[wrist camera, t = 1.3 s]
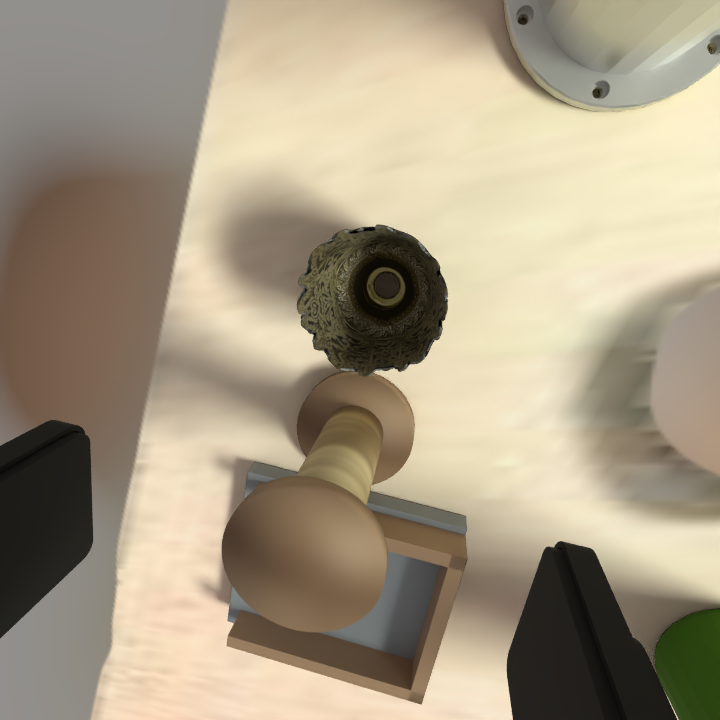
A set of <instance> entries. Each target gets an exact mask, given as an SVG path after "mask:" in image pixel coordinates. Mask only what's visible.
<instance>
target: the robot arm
mask: <svg viewBox="0 0 720 720" xmlns="http://www.w3.org/2000/svg"><path fill="white" fill-rule="evenodd" d="M503 1H504V11H505V21H506V26H507V29H508V33H509V36H510V39H511V43H512V46H513V48H514V50H515V52H516V54H517V56H518V58H519V60H520V62H521V64H522V65H523V67H524V68H525V69H526V71H527V72H528V73H529V74H530V76H531V77H532V78H533V79H534V80H535V82H536V83H537V84H538V85H540V86H541V87H542V88H543V89H545V90H546V91H547V92H549V93H550V94H551V95H552V96H554V97H555V98H557V99H560V100H562V101H564V102H566V103H568V104H570V105H572V106H575V107H579V108H584V109H588V110H592V111H607V112H620V111H626V110H632V109H637V108H643V107H646V106H649V105H651V104H654V103H657V102H659V101H662V100H665V99H668V98H669V97H671V96H673V95H675V94H677V93H678V92H680V91H682V90H684V89H686V88H688V87H689V86H691V85H692V84H694V83H695V82H697V81H698V80H700V79H701V78H702V77H704V76H705V75H707V74H708V73H710V72H711V71H712V70H713V69H714V68H716V67H717V66H718V65H719V64H720V0H503ZM521 17H524V18H526V20H527V24H525V25H521V24H519V23H518V19H519V18H521ZM708 46H710V47H711V48H712V53H711V54H710V53H709V51H708V49H707V47H708ZM594 89H597V90H599V92H600V96H599V98H595V97H594V96H593V94H592V91H593V90H594ZM90 455H91V454H90V439H89V437H88V436H87V435H85V431H84V430H83V428H82V427H80V426H78V425H74V424H69V423H65V422H61V421H57V420H50V421H47V422H45V423H43V424H42V425H39V426H38V427H36V428H34V429H32V430H30V431H28V432H26V433H24V434H22V435H20V436H19V437H16V438H15V439H13V440H11V441H9V442H7V443H5V444H3V445H1V446H0V638H1V637H2V636H3V635H4V634H5V633H6V632H7V631H9V630H10V629H11V628H12V627H13V626H14V625H15V624H16V623H17V622H18V621H19V620H20V619H21V618H22V617H23V616H24V615H25V614H26V613H27V612H29V611H30V610H31V609H32V607H34V606H35V605H36V604H37V603H38V602H39V601H40V600H41V599H42V598H43V597H44V596H45V595H46V594H47V593H49V592H50V591H51V590H52V588H54V587H55V586H56V585H57V584H58V583H59V582H60V581H61V580H62V579H63V578H64V577H65V576H66V575H67V574H68V573H69V572H70V571H72V570H73V569H74V568H75V567H76V566H77V565H78V564H79V563H80V562H81V561H82V560H83V559H84V558H85V557H86V556H87V554H88V553H89V551H90V549H91V547H92V543H93V523H92V522H93V521H92V520H93V519H92V487H91V457H90ZM507 678H508V686H509V693H510V700H511V708H512V715H513V720H677V718H676V716H675V714H674V711H673V709H672V707H671V705H670V703H669V701H668V698H667V696H666V694H665V692H664V690H663V687H662V685H661V683H660V681H659V679H658V677H657V674H656V672H655V670H654V668H653V666H652V663H651V661H650V659H649V657H648V655H647V653H646V651H645V649H644V648H643V646H642V644H641V643H640V642H639V641H637V640H636V639H635V638H633V637H632V635H631V633H630V630H629V628H628V626H627V624H626V621H625V619H624V617H623V615H622V612H621V610H620V608H619V605H618V603H617V601H616V599H615V596H614V594H613V592H612V590H611V587H610V585H609V583H608V581H607V578H606V576H605V574H604V572H603V569H602V567H601V565H600V563H599V560H598V558H597V556H596V554H595V552H594V550H592V549H591V548H587V547H583V546H579V545H575V544H570V543H566V542H562V541H560V542H558V543H557V544H556V545H555V547H554V548H553V547H546V548H545V550H544V552H543V554H542V557H541V560H540V563H539V566H538V569H537V572H536V575H535V578H534V580H533V583H532V586H531V589H530V592H529V595H528V598H527V601H526V604H525V606H524V609H523V612H522V615H521V618H520V621H519V624H518V627H517V629H516V632H515V635H514V638H513V641H512V644H511V647H510V650H509V653H508V658H507Z"/></svg>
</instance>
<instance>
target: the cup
mask: <svg viewBox="0 0 720 720" xmlns="http://www.w3.org/2000/svg"><path fill="white" fill-rule="evenodd" d="M382 273H391V274H393V275H395V276H396V277H397V279H398V281H399V290H398V292H397V294H396V295H395V296H393V297H391V298H383V297H381V296H379V295H378V294H377V293H376V291H375V288H374V283H375V280H376V278H377V277H378V276H379V275H380V274H382ZM298 284H299V285H300V286H301V287H302V288H304V291H303V292H302V293H301V295H300V296H299V298H298V301H297V310H298V312H299V314H302V315H301V326H302V327H303V328H304V329H306V330H307V331H308V332H309V333H310V334H313V335H314V336H313V340H312V341H313V346H314V349H315V350H322V351H324V352H325V353H326V355H327V357H328V360H329V361H330V362H331V363H332V364H333V365H334V366H335V367H336V368H337V369H339V370H342V371H350V372H358V375H360V376H363V377H369V376H372V374H373V373H374V372H375V371H376V370H384V371H388V370H390V369H393V368H395V369H398V371H399V372H401V371H404V370H405V369H406V368H407V367H408V366H409V364H418V363H420V362H421V361H422V360H424V359H425V357H426V356H427V354H428V352H429V350H430V348H431V345H432V344H433V342H434V340H438V339H439V338H440V336H441V333H442V330H443V328H442V321H444V320H445V317H446V314H447V310H448V305H447V302H448V299H447V298H448V291H447V286H446V283H445V280H444V278H443V276H442V275H441V273H440V265H439V263H438V262H437V260H436V259H434V258H433V257H432V256H431V255H430V253H429V252H428V251H427V249H426V248H425V247H424V246H423V245H422V244H421V243H420V242H419V241H418V240H417V239H416V238H414V237H413V236H411V235H409V234H407V233H404V232H401V231H398V230H395V229H393V228H391V227H388V226H385V225H376V226H375V227H362V228H359V229H354V230H348V229H345V230H342V231H340V232H338V233H336V234H335V235H334V236H333V238H332V239H330V240H328V241H326V242H324V243H322V244H321V245H320V246H318V247H317V248H316V249H315V250H314V251H313V252H312V254H311V255H310V258H309V261H308V268H307V272H305V273H303V274H302V276H301V277H300V278H299V280H298Z"/></svg>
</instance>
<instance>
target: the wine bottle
mask: <svg viewBox="0 0 720 720" xmlns="http://www.w3.org/2000/svg"><path fill="white" fill-rule="evenodd" d="M655 665H656V671H657V676H658V678H659V680H660V682H661V684H662V686H663V688H664V690H665V692H666V694H667V696H668V698H669V700H670V702H671V704H672V706H673V709H674V711H675V713H676V715H677V717H678V719H679V720H720V609H711V610H703V611H700V612H697V613H693V614H690V615H687V616H686V617H684V618H682V619H680V620H679V621H677V622H675V623H674V624H672V625H671V626H670V627H669V628H668V629H667V630H666V631H665V632H664V633H663V635H662V636H661V638H660V640H659V642H658V643H657V646H656V652H655Z"/></svg>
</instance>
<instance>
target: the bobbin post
mask: <svg viewBox="0 0 720 720" xmlns="http://www.w3.org/2000/svg"><path fill="white" fill-rule="evenodd" d="M414 425H415V424H414V416H413V412H412V409H411V407H410V404H409V402H408V401H407V399H406V397H405V396H404V395H403V393H402V392H401V391H400V390H399V389H398V388H397V387H396V386H395V385H394V384H393V383H391V382H390V381H389V380H387V379H385V378H384V377H381V376H379V375H377V374H374V373H373V374H372V376H369V377H363V376H360V375H358V372H350V371H344V372H339V373H336V374H334V375H331V376H329V377H328V378H326V379H324V380H323V381H322V382H320V383H319V384H318V385H317V386H316V387H315V388H314V389H313V391H312V392H311V393H310V395H309V396H308V397H307V399H306V400H305V402H304V403H303V405H302V407H301V410H300V412H299V416H298V422H297V434H298V439H299V443H300V446H301V448H302V450H303V453H304V454H305V456H306V459H305V461H304V463H303V465H302V466H301V468H300V470H299V472H298V473H297V475H296V476H288V477H282V478H278V479H275V480H271V481H269V482H267V483H264V484H262V485H260V486H259V487H257V488H256V489H254V490H253V491H252V492H251V493H250V494H249V495H248V496H247V497H246V498H245V499H244V500H243V502H242V503H241V504H240V506H239V507H238V508H237V510H236V511H235V513H234V514H233V515H232V517H231V519H230V520H229V522H228V524H227V526H226V529H225V531H224V535H223V540H222V558H223V563H224V568H225V571H226V573H227V576H228V578H229V580H230V582H231V584H232V586H233V587H234V589H235V590H236V592H237V593H238V595H239V596H240V597H241V598H242V599H243V600H244V601H245V602H246V603H247V604H248V605H249V606H250V607H251V608H252V609H253V610H255V611H256V612H257V613H259V614H260V615H261V616H263V617H265V618H266V619H268V620H270V621H272V622H274V623H276V624H278V625H281V626H284V627H286V628H289V629H293V630H298V631H304V632H330V631H335V630H339V629H342V628H345V627H348V626H350V625H352V624H354V623H356V622H358V621H359V620H360V619H362V618H363V617H365V616H366V615H367V614H368V613H369V612H370V611H371V610H372V609H373V607H374V606H375V605H376V603H377V601H378V600H379V598H380V596H381V593H382V590H383V587H384V582H385V576H386V570H387V563H388V549H387V542H386V538H385V535H384V532H383V530H382V528H381V525H380V523H379V522H378V520H377V518H376V517H375V515H374V514H373V513H372V511H371V510H370V509H369V508H368V507H367V506H366V505H367V501H368V497H369V493H370V489H371V485H373V484H376V483H380V482H382V481H384V480H386V479H388V478H390V477H391V476H393V475H394V474H395V473H397V472H398V471H399V470H400V469H401V468H402V467H403V465H404V464H405V462H406V461H407V459H408V457H409V455H410V452H411V449H412V445H413V439H414Z"/></svg>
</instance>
